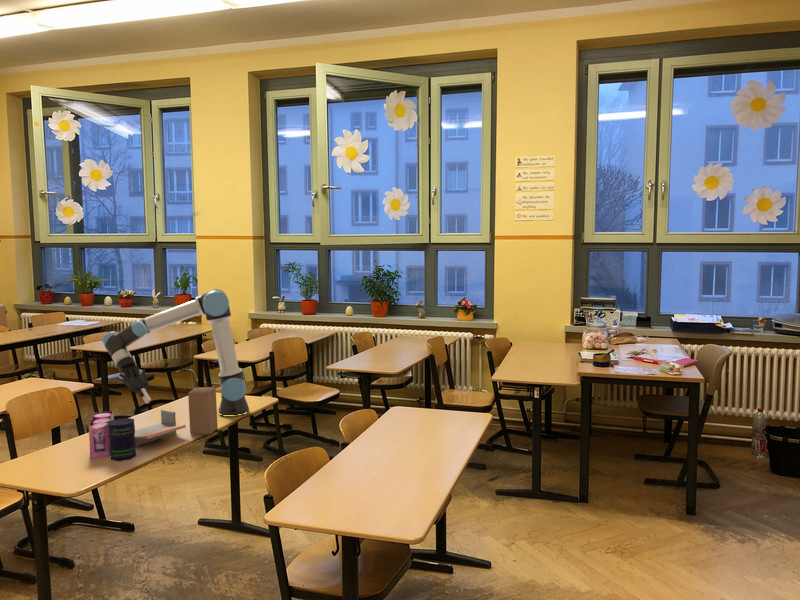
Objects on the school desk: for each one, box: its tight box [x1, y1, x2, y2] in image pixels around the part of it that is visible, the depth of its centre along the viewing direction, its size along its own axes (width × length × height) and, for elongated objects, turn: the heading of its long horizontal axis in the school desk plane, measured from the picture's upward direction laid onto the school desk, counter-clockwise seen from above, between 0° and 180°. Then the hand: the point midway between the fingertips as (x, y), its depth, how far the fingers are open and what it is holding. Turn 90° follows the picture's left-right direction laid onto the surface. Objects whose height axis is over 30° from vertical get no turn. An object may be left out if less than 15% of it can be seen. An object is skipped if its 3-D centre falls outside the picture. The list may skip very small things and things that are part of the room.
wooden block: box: [187, 386, 218, 436], centre depth 284 cm, size 10×10×20 cm
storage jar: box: [108, 417, 137, 462], centre depth 252 cm, size 10×10×15 cm
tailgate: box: [135, 424, 186, 440], centre depth 271 cm, size 19×1×9 cm
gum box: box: [88, 410, 115, 459], centre depth 262 cm, size 24×8×14 cm, turn 20°
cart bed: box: [134, 409, 177, 447], centre depth 276 cm, size 22×9×10 cm, turn 146°
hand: (148, 401), depth 274 cm, fingers closed
